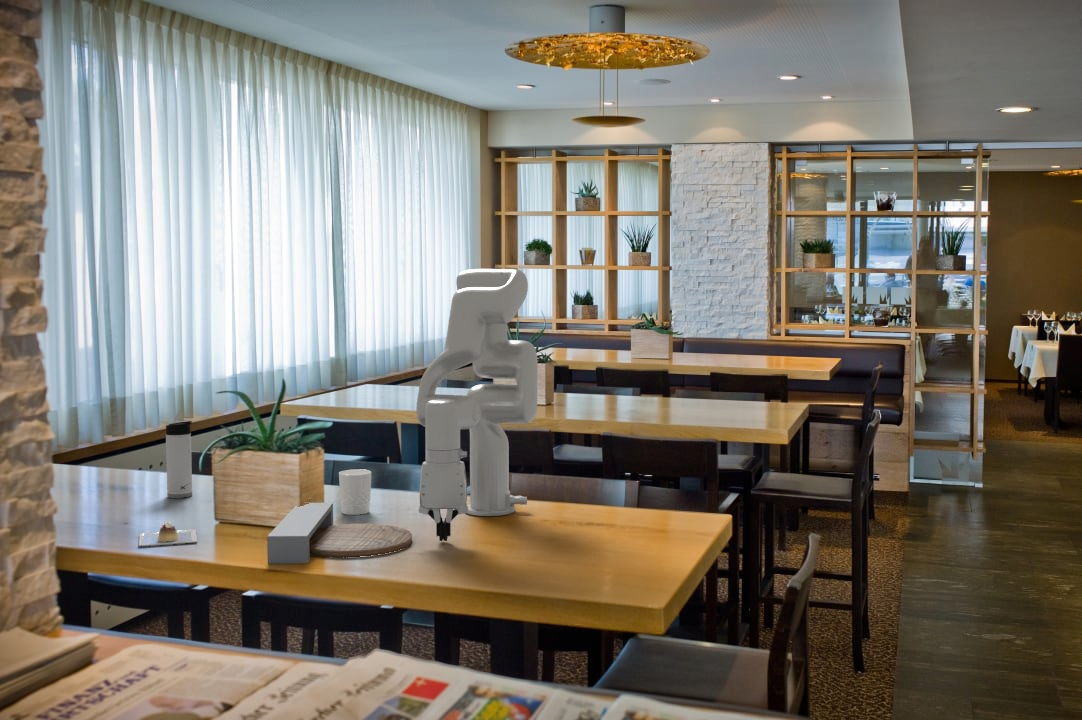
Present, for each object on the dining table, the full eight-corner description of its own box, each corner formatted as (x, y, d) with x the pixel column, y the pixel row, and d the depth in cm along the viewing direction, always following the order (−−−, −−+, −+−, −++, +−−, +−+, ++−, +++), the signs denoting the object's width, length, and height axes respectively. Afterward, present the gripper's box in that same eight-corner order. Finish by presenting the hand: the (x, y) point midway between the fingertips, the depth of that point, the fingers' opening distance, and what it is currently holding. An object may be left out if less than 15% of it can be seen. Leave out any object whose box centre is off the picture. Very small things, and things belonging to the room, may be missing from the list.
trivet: (315, 530, 253) (315, 522, 253) (422, 533, 251) (422, 525, 251) (279, 558, 229) (279, 549, 228) (397, 561, 226) (397, 552, 226)
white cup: (368, 515, 267) (368, 475, 267) (336, 515, 268) (335, 475, 267) (374, 509, 275) (373, 469, 275) (342, 508, 275) (342, 469, 275)
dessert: (139, 538, 247) (139, 517, 247) (195, 534, 251) (195, 513, 250) (138, 550, 236) (138, 528, 235) (197, 546, 240) (197, 524, 239)
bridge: (333, 526, 256) (333, 502, 256) (307, 563, 223) (306, 536, 223) (298, 526, 256) (298, 502, 255) (267, 563, 223) (267, 536, 222)
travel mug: (189, 498, 288) (187, 422, 286) (163, 498, 288) (161, 422, 286) (196, 494, 294) (195, 419, 293) (172, 493, 294) (170, 419, 293)
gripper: (478, 453, 243) (478, 535, 244) (410, 453, 242) (410, 535, 244) (476, 459, 235) (477, 543, 237) (406, 459, 235) (407, 544, 236)
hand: (443, 539), depth 240 cm, fingers closed
